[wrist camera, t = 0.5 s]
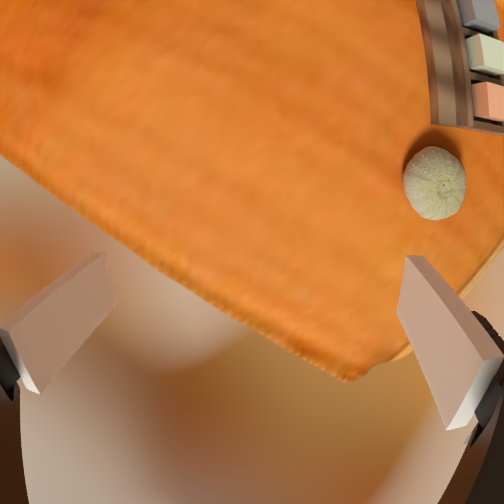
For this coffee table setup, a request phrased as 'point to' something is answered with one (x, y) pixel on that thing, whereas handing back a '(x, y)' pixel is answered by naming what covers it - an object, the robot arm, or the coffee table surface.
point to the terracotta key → (488, 101)
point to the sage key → (485, 54)
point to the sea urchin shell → (434, 183)
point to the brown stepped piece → (453, 67)
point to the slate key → (479, 15)
